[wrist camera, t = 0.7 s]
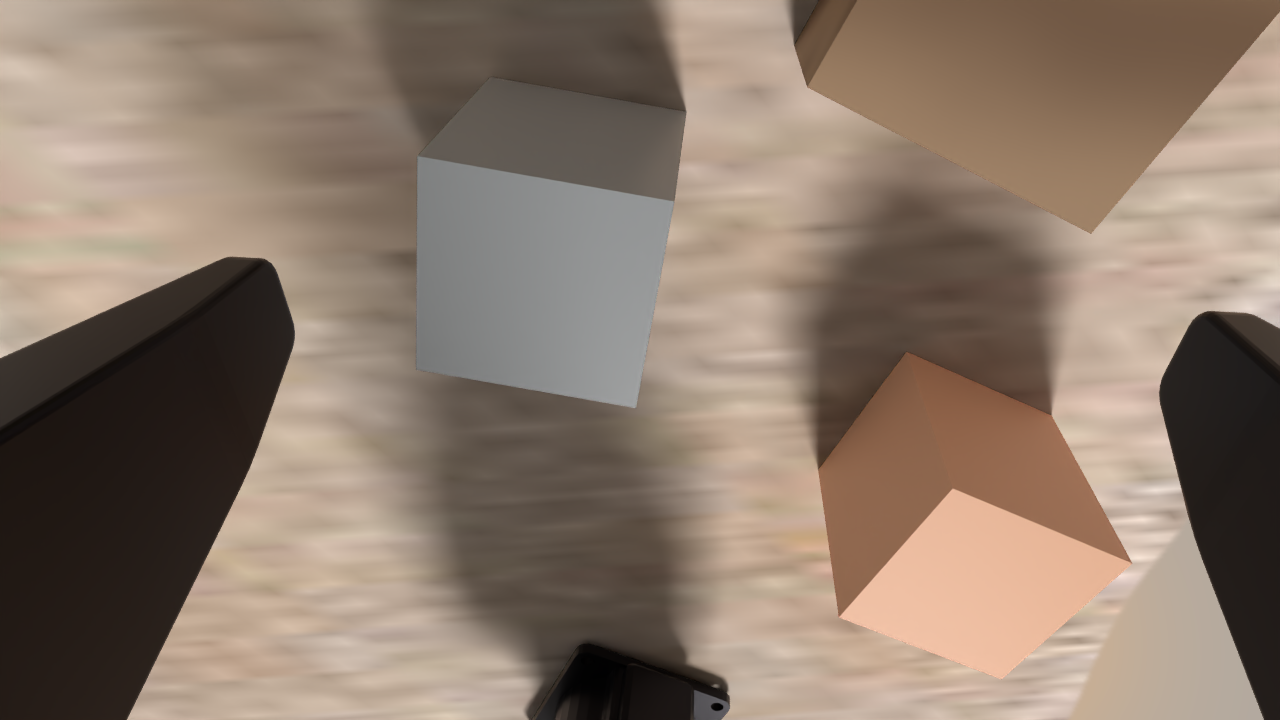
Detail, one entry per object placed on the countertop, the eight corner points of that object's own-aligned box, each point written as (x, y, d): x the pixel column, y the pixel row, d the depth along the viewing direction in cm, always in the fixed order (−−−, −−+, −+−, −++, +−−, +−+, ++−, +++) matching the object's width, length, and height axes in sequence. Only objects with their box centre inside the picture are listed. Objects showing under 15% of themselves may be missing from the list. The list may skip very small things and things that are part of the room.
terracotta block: (951, 523, 28) (1001, 679, 23) (818, 468, 27) (839, 616, 22) (1051, 414, 25) (1132, 563, 20) (906, 350, 24) (953, 488, 19)
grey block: (654, 284, 24) (635, 408, 19) (481, 254, 24) (415, 369, 19) (686, 111, 21) (674, 201, 16) (490, 76, 21) (417, 155, 16)
